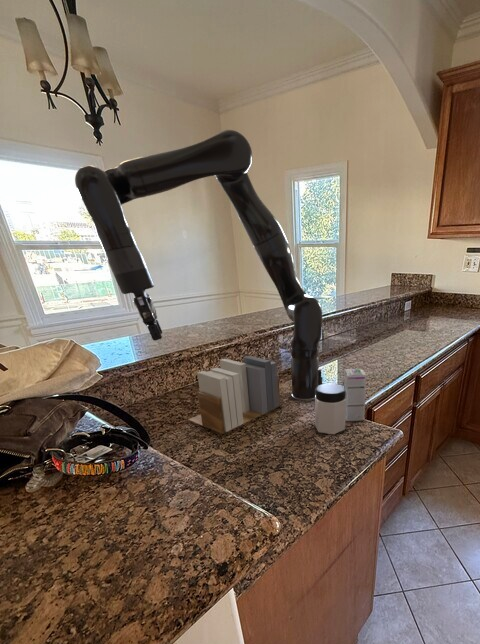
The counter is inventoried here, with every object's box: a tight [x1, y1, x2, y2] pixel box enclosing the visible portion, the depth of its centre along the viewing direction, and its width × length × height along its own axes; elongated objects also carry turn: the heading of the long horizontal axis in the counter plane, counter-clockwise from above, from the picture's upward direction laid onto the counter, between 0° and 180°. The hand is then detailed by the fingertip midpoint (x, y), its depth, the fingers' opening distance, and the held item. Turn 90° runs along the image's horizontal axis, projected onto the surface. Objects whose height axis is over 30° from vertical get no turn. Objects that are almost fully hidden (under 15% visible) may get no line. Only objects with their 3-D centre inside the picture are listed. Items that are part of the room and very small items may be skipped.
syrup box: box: [343, 368, 367, 422], centre depth 104 cm, size 6×6×14 cm
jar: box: [314, 382, 346, 435], centre depth 98 cm, size 9×8×12 cm
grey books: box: [242, 355, 280, 415], centre depth 108 cm, size 7×9×16 cm
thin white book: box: [219, 358, 250, 413], centre depth 107 cm, size 2×9×15 cm, turn 55°
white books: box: [196, 367, 244, 433], centre depth 97 cm, size 6×9×15 cm
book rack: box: [188, 374, 282, 435], centre depth 106 cm, size 24×15×11 cm, turn 145°
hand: (158, 336), depth 90 cm, fingers open, 8 cm apart
